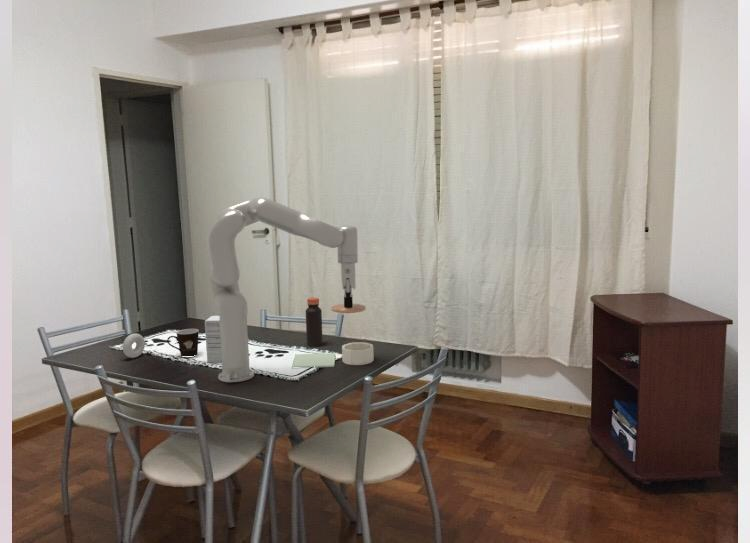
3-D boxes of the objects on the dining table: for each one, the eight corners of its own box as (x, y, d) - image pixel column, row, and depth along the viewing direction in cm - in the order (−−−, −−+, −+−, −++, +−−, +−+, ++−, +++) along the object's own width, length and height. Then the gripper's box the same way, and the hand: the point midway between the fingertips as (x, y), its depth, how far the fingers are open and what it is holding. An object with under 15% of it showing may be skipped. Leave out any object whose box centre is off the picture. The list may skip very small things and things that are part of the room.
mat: (334, 366, 219) (334, 365, 219) (291, 368, 218) (291, 366, 218) (335, 354, 235) (335, 353, 235) (295, 355, 234) (295, 354, 234)
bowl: (374, 364, 221) (373, 350, 220) (342, 365, 220) (342, 351, 219) (372, 355, 232) (372, 341, 232) (342, 356, 232) (342, 343, 231)
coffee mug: (203, 352, 241) (202, 328, 240) (195, 358, 233) (193, 334, 231) (176, 352, 243) (174, 328, 241) (167, 358, 234) (165, 334, 233)
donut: (127, 361, 231) (125, 337, 229) (121, 360, 232) (119, 336, 231) (147, 354, 240) (145, 331, 238) (141, 353, 241) (139, 330, 240)
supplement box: (230, 362, 227) (228, 320, 224) (206, 363, 227) (204, 320, 224) (236, 355, 236) (233, 314, 234) (213, 355, 236) (210, 315, 234)
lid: (366, 312, 217) (365, 297, 216) (331, 313, 216) (330, 297, 216) (365, 305, 230) (365, 290, 229) (332, 306, 229) (331, 291, 228)
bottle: (318, 347, 246) (317, 300, 243) (304, 345, 248) (302, 299, 245) (325, 342, 252) (323, 297, 249) (310, 341, 254) (309, 296, 251)
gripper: (357, 261, 212) (358, 310, 215) (357, 256, 229) (357, 302, 231) (337, 261, 212) (338, 311, 215) (338, 256, 228) (339, 302, 231)
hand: (348, 306), depth 223 cm, fingers closed on lid, 3 cm apart
